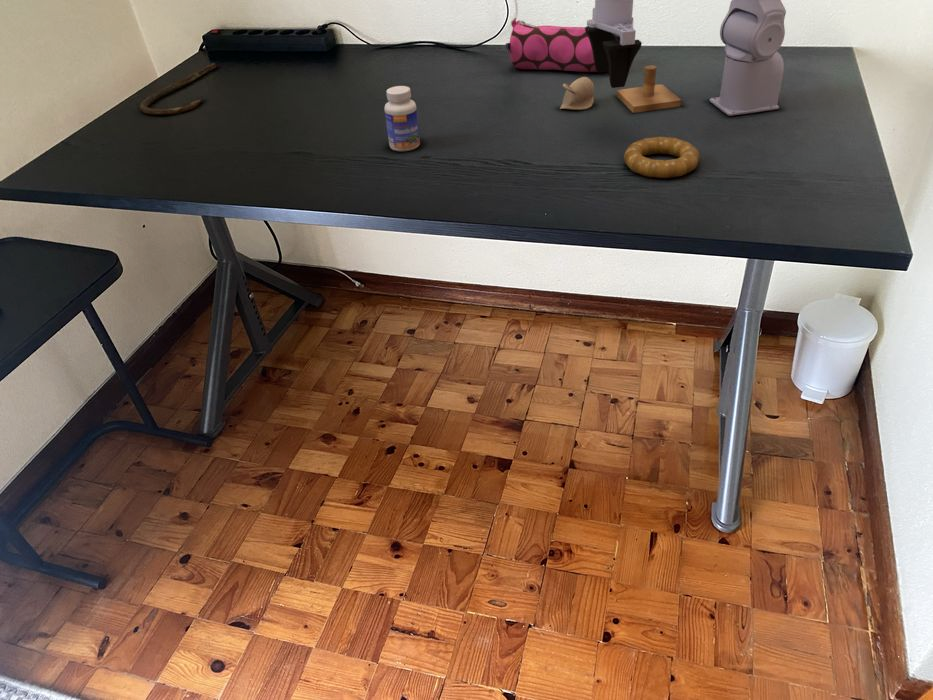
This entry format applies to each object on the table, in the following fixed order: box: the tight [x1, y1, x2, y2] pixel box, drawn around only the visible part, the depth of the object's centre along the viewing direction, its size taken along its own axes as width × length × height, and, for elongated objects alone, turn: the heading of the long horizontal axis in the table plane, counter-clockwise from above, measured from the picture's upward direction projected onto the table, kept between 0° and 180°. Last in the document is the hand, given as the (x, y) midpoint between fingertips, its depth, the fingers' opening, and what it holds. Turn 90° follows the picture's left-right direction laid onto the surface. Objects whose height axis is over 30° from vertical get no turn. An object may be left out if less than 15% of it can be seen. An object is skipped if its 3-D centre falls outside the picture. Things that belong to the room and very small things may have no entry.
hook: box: [139, 62, 217, 116], centre depth 158 cm, size 12×30×2 cm, turn 8°
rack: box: [615, 65, 682, 114], centre depth 133 cm, size 9×9×6 cm
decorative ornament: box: [559, 76, 595, 111], centre depth 134 cm, size 4×8×5 cm, turn 129°
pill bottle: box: [383, 85, 421, 152], centre depth 124 cm, size 5×5×10 cm
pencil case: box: [505, 17, 597, 73], centre depth 149 cm, size 21×10×10 cm, turn 73°
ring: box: [623, 136, 701, 179], centre depth 113 cm, size 11×11×3 cm
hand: (609, 78), depth 118 cm, fingers open, 7 cm apart
